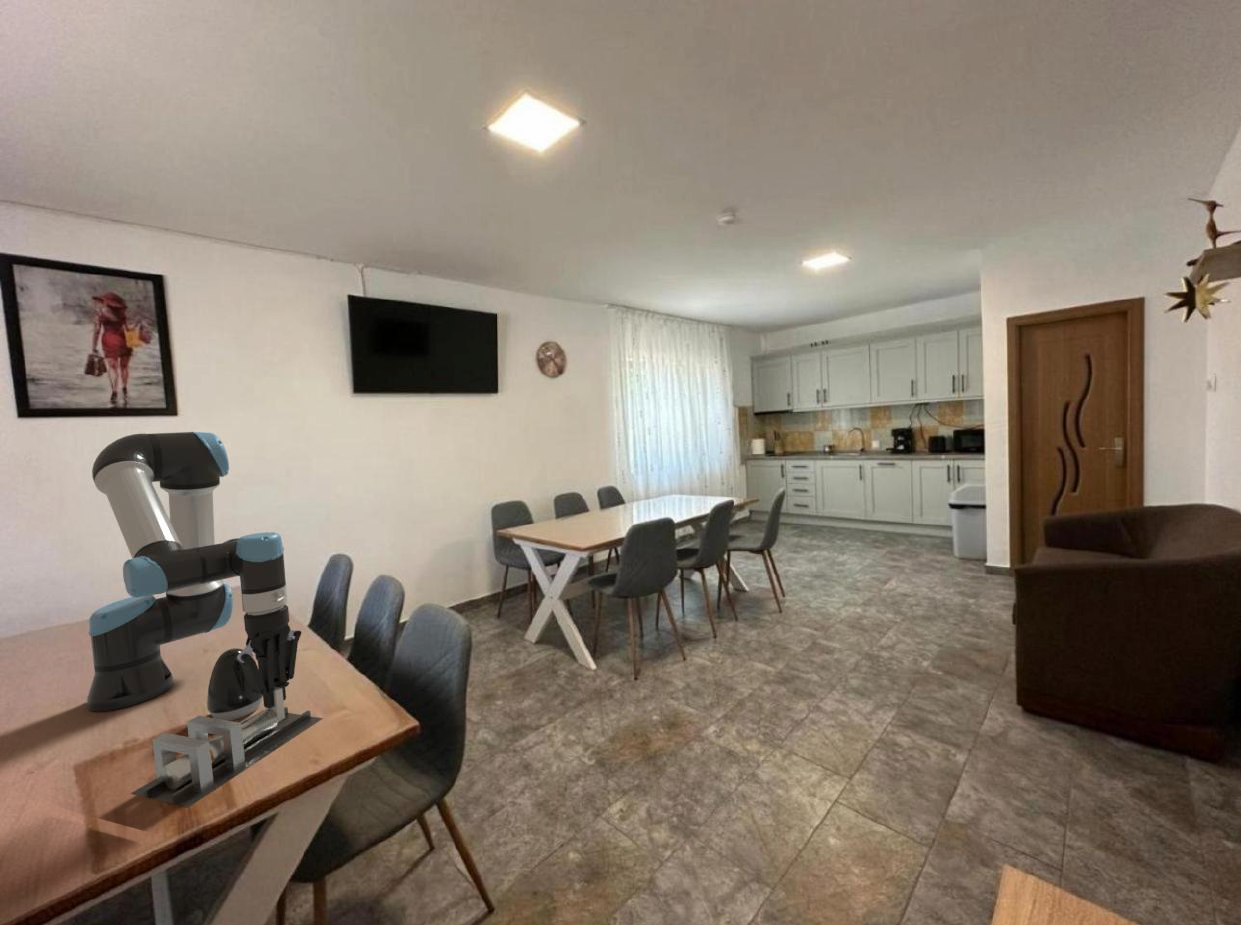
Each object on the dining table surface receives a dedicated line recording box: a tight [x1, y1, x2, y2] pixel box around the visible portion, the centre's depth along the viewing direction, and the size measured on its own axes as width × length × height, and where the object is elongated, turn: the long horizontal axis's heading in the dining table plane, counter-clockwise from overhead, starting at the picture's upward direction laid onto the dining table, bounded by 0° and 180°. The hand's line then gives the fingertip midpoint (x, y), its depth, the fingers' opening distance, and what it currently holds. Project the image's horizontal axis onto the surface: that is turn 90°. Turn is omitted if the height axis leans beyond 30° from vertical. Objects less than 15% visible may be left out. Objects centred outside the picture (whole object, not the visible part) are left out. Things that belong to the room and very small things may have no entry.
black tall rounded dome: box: [206, 648, 263, 721], centre depth 111 cm, size 10×10×15 cm
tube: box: [162, 708, 278, 789], centre depth 96 cm, size 18×4×4 cm, turn 163°
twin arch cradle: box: [130, 706, 324, 808], centre depth 97 cm, size 14×26×9 cm, turn 163°
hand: (276, 718), depth 105 cm, fingers closed
